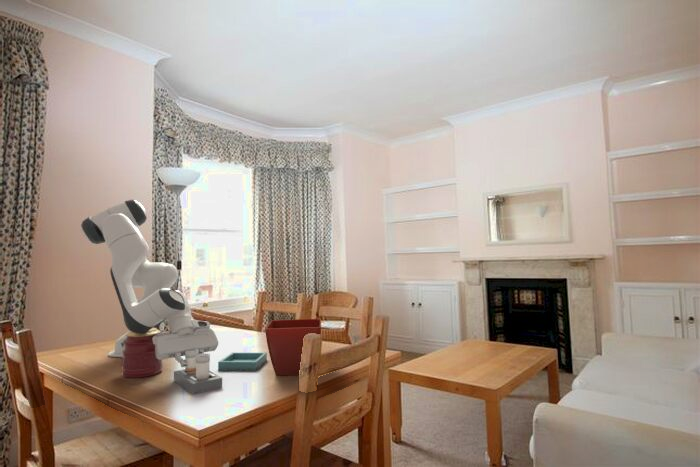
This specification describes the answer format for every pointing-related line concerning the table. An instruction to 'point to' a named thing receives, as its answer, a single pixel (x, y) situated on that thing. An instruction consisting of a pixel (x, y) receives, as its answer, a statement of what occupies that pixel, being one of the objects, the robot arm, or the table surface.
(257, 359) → the tray
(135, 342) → the canister
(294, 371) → the plant pot
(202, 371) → the fuse
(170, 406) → the table surface
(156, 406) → the table surface
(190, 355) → the grey capped cylinder
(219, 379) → the fuse block
